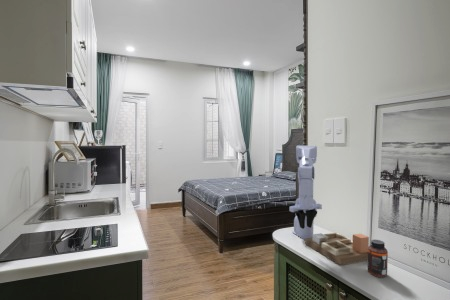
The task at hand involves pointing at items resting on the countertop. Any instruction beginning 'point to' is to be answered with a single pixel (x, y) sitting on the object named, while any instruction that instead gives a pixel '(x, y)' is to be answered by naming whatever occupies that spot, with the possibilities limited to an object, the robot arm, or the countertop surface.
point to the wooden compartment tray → (338, 259)
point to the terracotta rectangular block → (360, 243)
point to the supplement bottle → (377, 258)
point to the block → (319, 238)
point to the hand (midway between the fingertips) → (305, 227)
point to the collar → (341, 250)
